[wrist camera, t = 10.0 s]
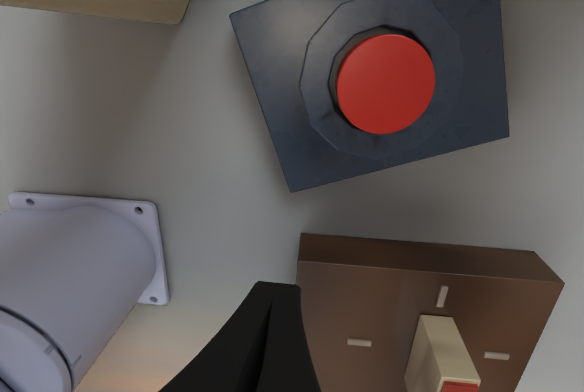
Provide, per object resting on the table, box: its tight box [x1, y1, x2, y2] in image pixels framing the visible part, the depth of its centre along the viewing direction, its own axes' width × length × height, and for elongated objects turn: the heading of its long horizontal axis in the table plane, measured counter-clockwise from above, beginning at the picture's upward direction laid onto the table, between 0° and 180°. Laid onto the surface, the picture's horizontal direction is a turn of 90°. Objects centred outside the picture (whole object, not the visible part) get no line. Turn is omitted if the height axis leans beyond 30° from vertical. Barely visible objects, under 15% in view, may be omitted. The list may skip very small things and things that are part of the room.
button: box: [336, 34, 435, 134], centre depth 14 cm, size 4×4×2 cm
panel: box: [296, 233, 565, 392], centre depth 22 cm, size 14×11×3 cm
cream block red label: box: [404, 315, 481, 392], centre depth 19 cm, size 5×2×4 cm, turn 178°
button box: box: [229, 0, 509, 193], centre depth 16 cm, size 11×9×4 cm
